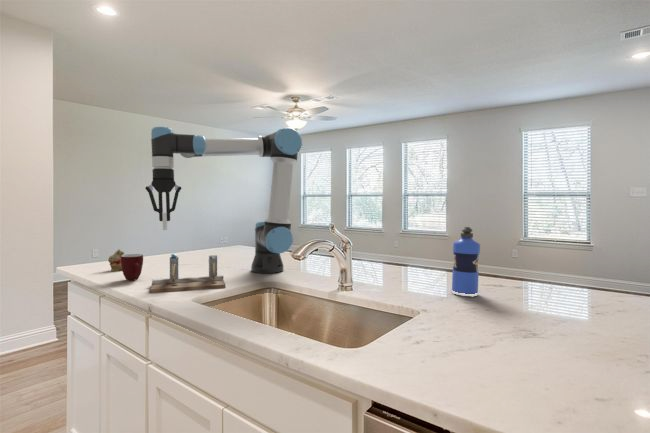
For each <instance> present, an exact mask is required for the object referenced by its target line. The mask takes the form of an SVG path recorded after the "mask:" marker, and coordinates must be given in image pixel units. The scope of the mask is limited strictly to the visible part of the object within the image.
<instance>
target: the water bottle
mask: <svg viewBox="0 0 650 433" xmlns="http://www.w3.org/2000/svg"><path fill="white" fill-rule="evenodd" d="M461 231H462V232H460V239H458V240H456V241H454V242H452V253H453V266H452V276H451V278H452V279H451V281H452V282H451V291H452V290H453V291H455V292H458V293H465V294H475V293H478V294H479V258H480V253H481V244H480V243H479V242H477V241H476V240H474V239H473V238H474V233H472V232H474V231H473V229H472V228H471V227H469V226H464V227H463V228H462V229H461Z"/></svg>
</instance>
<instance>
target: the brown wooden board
mask: <svg viewBox="0 0 650 433" xmlns="http://www.w3.org/2000/svg"><path fill="white" fill-rule="evenodd" d="M222 288H223V289H225V288H226V283H225V280H224V275H217V276H215V279H213V277H209V275H208V276H193V277H192V276H191V277H178V279H175V281H173V279H170V278H158V279H156V278H154V279H152V280H151V286H150V289H149V293H150V294H151V293H152V292H154V293H165V292H167V293H168V292H178V291H180V292H181V291H182V292H183V291H193V290H207V289H208V290H212V289H222Z"/></svg>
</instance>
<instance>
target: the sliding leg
mask: <svg viewBox="0 0 650 433" xmlns="http://www.w3.org/2000/svg"><path fill="white" fill-rule="evenodd" d="M178 278H179V256H178V254H177V253H171V254H170V256H169V279H173V281H175V279H178Z"/></svg>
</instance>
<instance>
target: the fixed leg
mask: <svg viewBox="0 0 650 433" xmlns="http://www.w3.org/2000/svg"><path fill="white" fill-rule="evenodd" d="M208 276H209V277H213V279H215V276H218V256H217V255H216V254H214V255H208Z"/></svg>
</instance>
